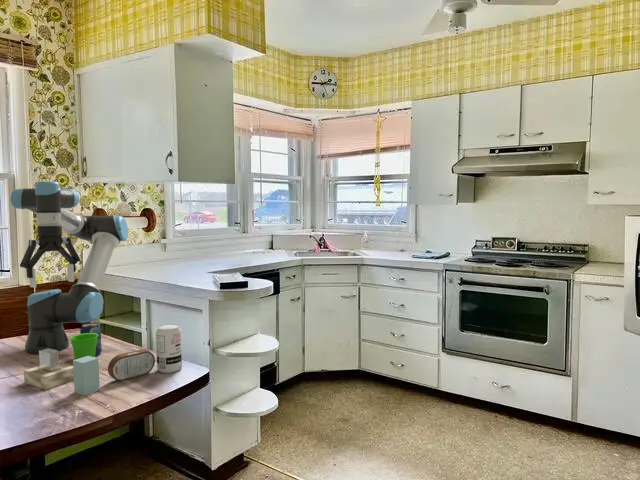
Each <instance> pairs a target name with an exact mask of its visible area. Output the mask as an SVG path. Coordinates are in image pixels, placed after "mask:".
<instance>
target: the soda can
mask: <svg viewBox="0 0 640 480" xmlns="http://www.w3.org/2000/svg"><path fill="white" fill-rule="evenodd" d="M79 332H80V333H79V334H84V333H96V334H98V335H99V336H98V337H97V344H96V352H95V358H98V357H100V355H101V353H102V331H101V326H100V324H99V322H85V323H82V325H81V327H80V331H79Z"/></svg>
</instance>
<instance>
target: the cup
mask: <svg viewBox="0 0 640 480" xmlns="http://www.w3.org/2000/svg"><path fill="white" fill-rule="evenodd" d="M98 336H99V335H98V334H96V333H84V334H80V333H79V334H74V335H72V336H70V337H69V340H70V342H71V345H72V346H71V347H72V350H73V354H74V358H75V359H74V360H76V359H79V358H82V357H86V356H91V357H95V352H96V344H97V337H98ZM95 358H96V357H95Z"/></svg>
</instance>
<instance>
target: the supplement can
mask: <svg viewBox="0 0 640 480" xmlns="http://www.w3.org/2000/svg"><path fill="white" fill-rule="evenodd" d="M155 344H156V346H155V347H156V349H155V350H156V367H157V368H156V369H157V371H158V372H160V373H163V374H169V373H175V372H179V371H180V370H181V368H182V367H183V354H182V353H183V352H182V349H183V347H182V345H183V344H182V329H181V327H180V325H179V324H176V323H175V324H174V323H169V324H162V325H159V326H158V327H157V329H156V332H155Z"/></svg>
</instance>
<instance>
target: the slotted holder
mask: <svg viewBox="0 0 640 480" xmlns="http://www.w3.org/2000/svg"><path fill="white" fill-rule="evenodd" d="M59 364H60V370H57V371H54V372H46V371H43V370H40V365H38V366H35V367H32V368H27V369H24V370H23V378H24V381H23V382H24V383H25V384H28V385H31V386H33V387H37V388H39V389H43V390H49V389H51V388H54V387H57V386H60V385H63V384H66V383H69V382H72V381H74V372H73V365H70V364H66V363H62V362H59Z"/></svg>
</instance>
